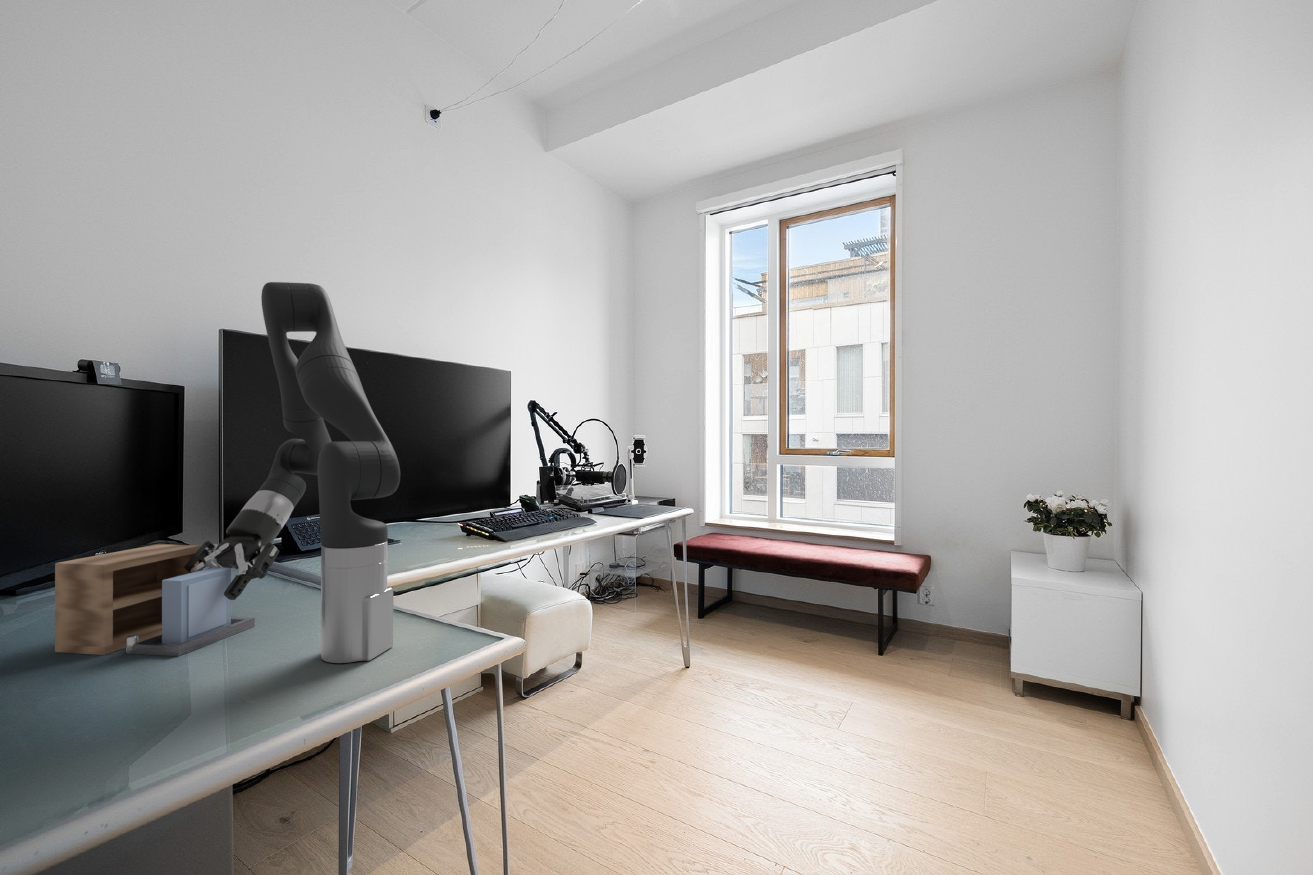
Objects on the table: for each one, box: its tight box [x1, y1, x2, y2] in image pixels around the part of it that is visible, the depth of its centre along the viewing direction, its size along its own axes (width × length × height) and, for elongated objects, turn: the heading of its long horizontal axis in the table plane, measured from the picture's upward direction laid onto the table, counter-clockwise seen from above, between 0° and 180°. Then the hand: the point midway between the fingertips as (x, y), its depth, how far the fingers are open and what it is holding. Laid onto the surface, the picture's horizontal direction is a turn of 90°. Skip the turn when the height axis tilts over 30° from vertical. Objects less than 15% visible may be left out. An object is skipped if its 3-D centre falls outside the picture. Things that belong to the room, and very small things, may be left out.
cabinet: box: [54, 543, 202, 656], centre depth 96 cm, size 9×16×14 cm, turn 173°
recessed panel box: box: [162, 567, 232, 644], centre depth 94 cm, size 4×9×11 cm, turn 173°
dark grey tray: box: [125, 616, 256, 657], centre depth 94 cm, size 10×14×2 cm, turn 173°
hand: (206, 596), depth 96 cm, fingers open, 8 cm apart
